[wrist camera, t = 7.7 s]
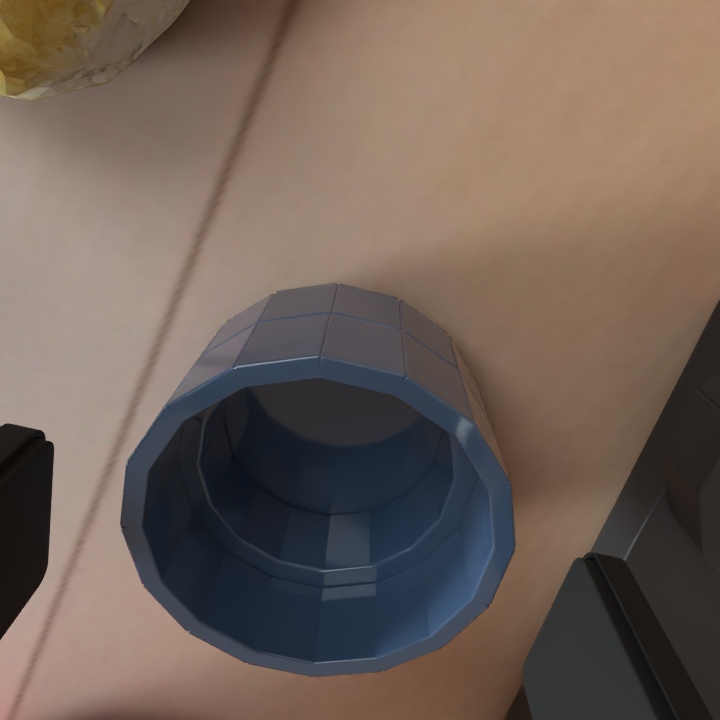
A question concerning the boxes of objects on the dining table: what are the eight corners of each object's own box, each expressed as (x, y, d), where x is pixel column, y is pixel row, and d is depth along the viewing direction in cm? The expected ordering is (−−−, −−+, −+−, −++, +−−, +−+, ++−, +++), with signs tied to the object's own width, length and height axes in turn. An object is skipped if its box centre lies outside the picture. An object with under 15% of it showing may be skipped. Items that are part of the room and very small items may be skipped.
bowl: (217, 245, 13) (140, 311, 9) (515, 319, 13) (575, 416, 9) (180, 495, 16) (107, 636, 11) (429, 550, 16) (446, 705, 12)
